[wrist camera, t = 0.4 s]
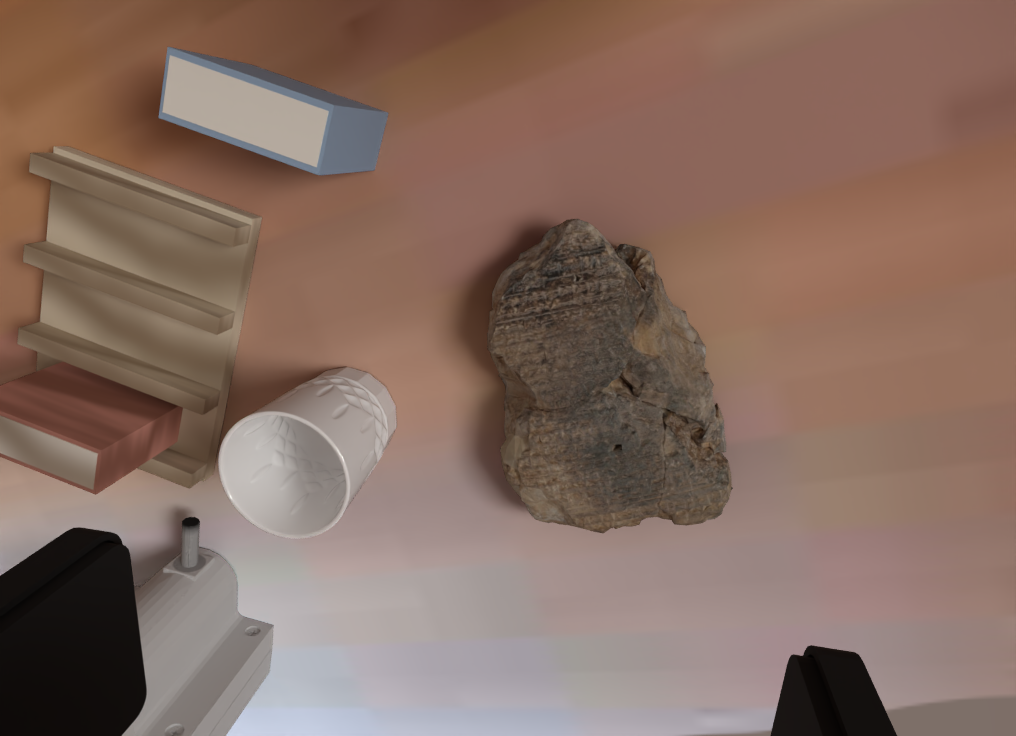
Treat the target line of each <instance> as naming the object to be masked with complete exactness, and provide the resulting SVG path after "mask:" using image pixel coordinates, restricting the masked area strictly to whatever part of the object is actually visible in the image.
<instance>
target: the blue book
mask: <svg viewBox="0 0 1016 736" xmlns="http://www.w3.org/2000/svg"><path fill="white" fill-rule="evenodd" d="M387 117H388V112H385V111H382V110H379V109H376V108H373V107H370V106H368V105H365V104H362V103H359V102H356V101H353V100H350V99H348V98H345V97H342V96H339V95H336V94H333V93H331V92H328V91H325V90H322V89H319V88H316V87H313V86H311V85H308V84H305V83H302V82H299V81H296V80H294V79H291V78H288V77H285V76H282V75H279V74H276V73H274V72H271V71H268V70H265V69H262V68H259V67H256V66H254V65H250V64H246V63H241V62H237V61H232V60H227V59H223V58H218V57H213V56H209V55H204V54H200V53H195V52H190V51H186V50H181V49H176V48H172V47H168V49H167V57H166V64H165V72H164V80H163V87H162V95H161V103H160V110H159V118H160V119H163V120H166V121H169V122H172V123H174V124H177V125H180V126H183V127H186V128H188V129H191V130H194V131H197V132H199V133H202V134H205V135H208V136H211V137H213V138H216V139H219V140H222V141H225V142H227V143H230V144H233V145H236V146H238V147H241V148H244V149H247V150H250V151H252V152H255V153H258V154H261V155H263V156H266V157H269V158H272V159H275V160H277V161H280V162H283V163H286V164H289V165H291V166H294V167H297V168H300V169H302V170H305V171H308V172H311V173H314V174H316V175H329V174H340V173H351V172H362V171H373V170H375V166H376V162H377V158H378V154H379V150H380V146H381V142H382V137H383V133H384V129H385V125H386V121H387Z"/></svg>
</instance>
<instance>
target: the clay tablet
mask: <svg viewBox="0 0 1016 736" xmlns="http://www.w3.org/2000/svg"><path fill="white" fill-rule="evenodd" d="M492 307H493V310H492V311H490V315H489V327H488V333H487V347H488V351H490V353H491V357H492V359H493V361H494V363H495V365H496V367H497V370H498V372H499V377H501V378H502V380H503V382H504V384H505V388H506V395H505V400H504V410H505V423H504V432H505V436H506V440H505V442H504V443H503V445H502V446H501V448H500V450H501V462H502V467H503V470H504V474H505V477H506V480H507V481H508V483H509V484H510V486H511V487H512V488H513V489H514V490H515V491H516V493H517V494H518V495H519V496H520V497H521V501H523V502H525V504H526V507H527V509H528V511H529V512H530V514H531V515H532V516H533V517H534V518H535V519H536V520H539V521H542V522H547V523H550V522H555V523H557V524H563V525H570V526H575V527H579V528H583V529H587V530H590V531H594V532H599V533H605V532H606V531H607V530H609V529H610V528H613V527H614V528H615V529H617V528H620V527H623V526H636V525H639V524H640V522H641V520H643V519H645V518H648V517H659V518H662V519H669V520H672V521H673V523H674V524H677V525H693V524H699V523H703V522H705V521H706V520H710V519H715V518H717V517H718V516H720V515H721V514H722V511H723V508H724V506H725V505H726V503H727V502H728V500H729V496H730V492H731V490H732V489H733V488H732V487H731V472H730V468H729V464H728V460H727V459H726V458H725V457H724V456H723V454H722V453H721V452H726V441H725V434H724V419H723V416H722V413H721V411H720V408H719V406H718V404H717V403H716V405H714V400H713V392H712V388H713V385H714V384H713V382H712V381H711V379H710V377H709V373H708V372H707V371H706V369H705V357H706V356H705V353H706V346H705V345H704V343H703V342H702V340H701V338H700V337H699V335H698V333H697V331H696V330H695V329H694V328H693V327H692V326H691V325H690V323H689V322H688V319H687V315H686V311H683V310H680V309H679V308H677V307H675V306H673V304H672V303H671V301H670V300H669V298H668V297H667V295H666V292H665V289H664V286H663V282H662V279H661V278H660V277H659V276H658V274H657V273H656V271H655V264H654V259H653V257H652V255H651V252H650V251H647V250H644V249H642V248H639V247H635V246H631V245H627V244H620V245H619V247H618V248H617V249H616V250H614V248H613V247H612V246H611V244H610V243H609V242H608V241H607V240H606V239H605V237H604V236H603V235H602V234H601V233H600V232H599V231H598V230H597V229H596V228H595V227H594V226H592V225H591V224H590V223H587V222H584V221H582V220H579V219H571V220H566V221H564V222H563V223H562V224H560V225H557V226H555V227H553V228H551V229H550V230H549V231H548V232H547V233H546V234H544V236H543V239H542V241H541V242H540V243H538V244H536V245H535V246H533V247H531V248H530V249H528V250H526V251H525V252H522V253H520V256H519V259H518V260H517V261H515V262H514V263H513V264H511V265H509V266H508V267H507V268H506V269H505V270H504V271H503V272H502V273H501V275H500V277H499V279H498V281H497V283H496V285H495V288H494V290H493V293H492Z"/></svg>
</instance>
